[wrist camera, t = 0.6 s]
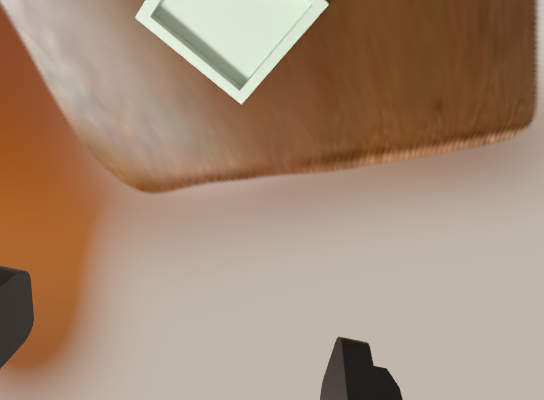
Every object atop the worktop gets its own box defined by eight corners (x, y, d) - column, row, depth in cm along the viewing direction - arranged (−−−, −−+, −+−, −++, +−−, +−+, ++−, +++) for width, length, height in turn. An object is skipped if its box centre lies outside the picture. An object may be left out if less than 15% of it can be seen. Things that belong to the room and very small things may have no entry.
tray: (141, 13, 30) (135, 17, 29) (218, -113, 26) (214, -114, 24) (243, 97, 34) (241, 104, 33) (327, 0, 29) (328, 4, 28)
